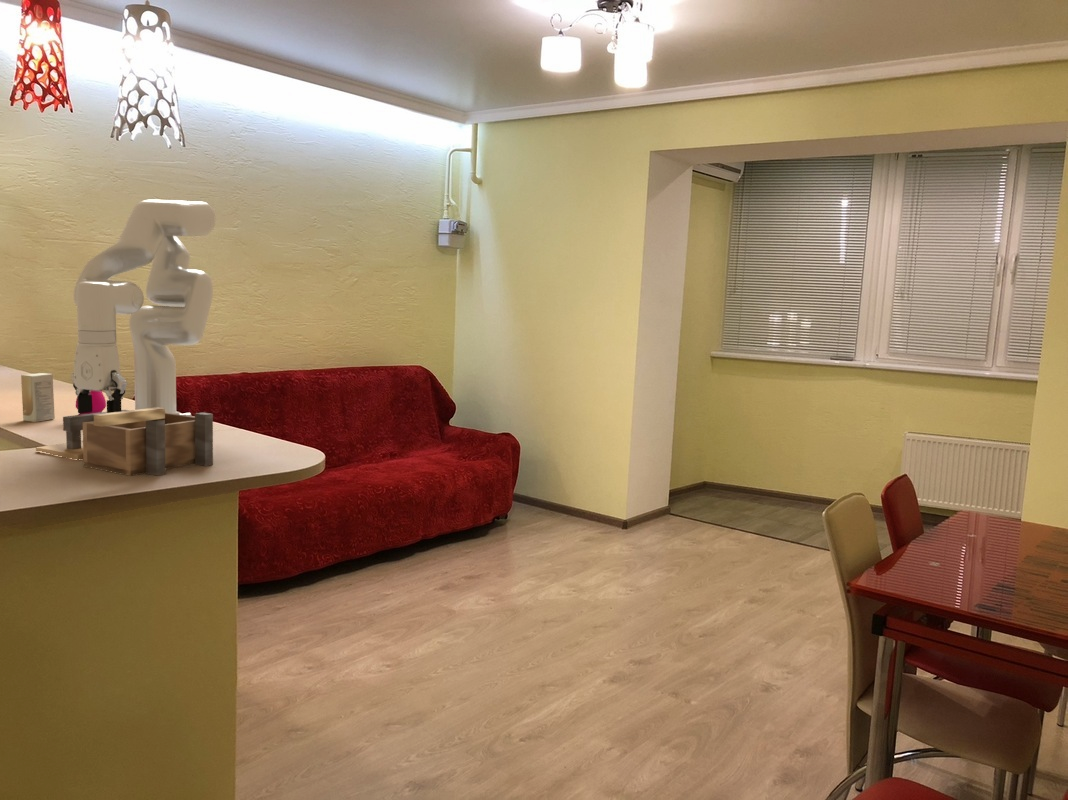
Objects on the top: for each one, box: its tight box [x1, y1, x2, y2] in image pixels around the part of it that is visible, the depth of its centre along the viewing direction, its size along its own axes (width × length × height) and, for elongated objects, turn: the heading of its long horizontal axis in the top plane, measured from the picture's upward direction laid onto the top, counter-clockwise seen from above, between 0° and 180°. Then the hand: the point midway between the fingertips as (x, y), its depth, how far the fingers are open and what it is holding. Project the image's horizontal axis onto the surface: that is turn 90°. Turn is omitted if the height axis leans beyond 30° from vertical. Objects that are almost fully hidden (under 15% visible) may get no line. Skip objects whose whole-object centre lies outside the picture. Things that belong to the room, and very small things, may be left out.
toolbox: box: [82, 412, 214, 477], centre depth 177 cm, size 20×18×11 cm
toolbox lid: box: [35, 409, 131, 461], centre depth 190 cm, size 20×16×8 cm
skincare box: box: [20, 372, 56, 423], centre depth 224 cm, size 6×4×12 cm
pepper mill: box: [75, 390, 107, 415], centre depth 227 cm, size 7×7×20 cm
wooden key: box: [94, 407, 165, 427], centre depth 163 cm, size 14×2×2 cm, turn 153°
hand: (99, 415), depth 190 cm, fingers open, 9 cm apart
